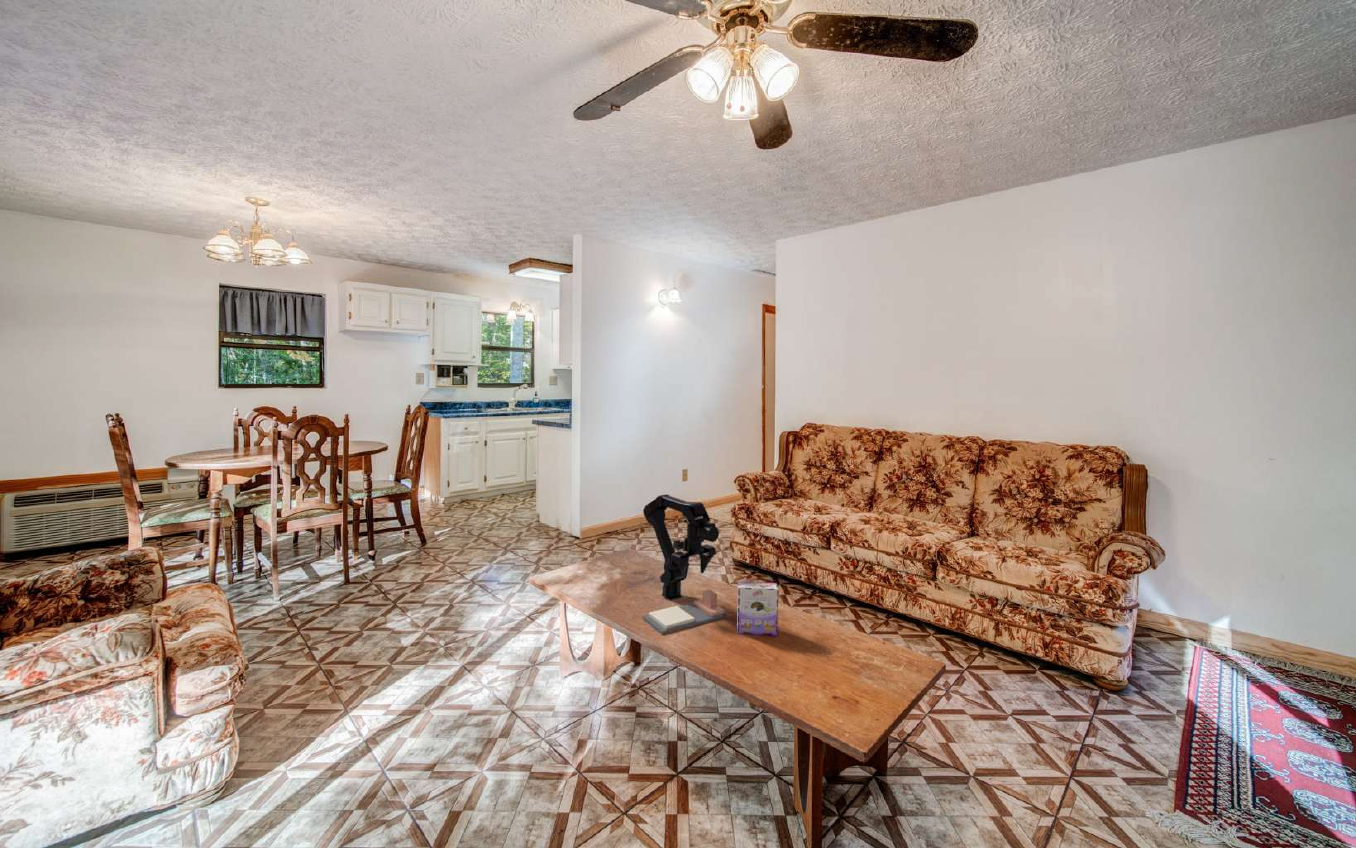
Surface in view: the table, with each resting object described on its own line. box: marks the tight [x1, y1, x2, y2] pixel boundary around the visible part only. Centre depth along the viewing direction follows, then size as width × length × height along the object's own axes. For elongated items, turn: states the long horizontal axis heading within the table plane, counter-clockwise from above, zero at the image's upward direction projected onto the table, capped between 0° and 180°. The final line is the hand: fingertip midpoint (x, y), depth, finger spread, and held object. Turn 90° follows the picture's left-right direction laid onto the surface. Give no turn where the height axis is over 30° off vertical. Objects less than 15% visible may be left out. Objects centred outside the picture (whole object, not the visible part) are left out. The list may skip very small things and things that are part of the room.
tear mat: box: [641, 602, 724, 635], centre depth 190 cm, size 26×14×1 cm, turn 122°
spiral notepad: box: [648, 605, 695, 629], centre depth 188 cm, size 13×12×1 cm
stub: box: [693, 588, 726, 616], centre depth 196 cm, size 6×12×6 cm, turn 32°
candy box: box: [736, 581, 779, 636], centre depth 181 cm, size 14×6×16 cm, turn 84°
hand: (693, 575), depth 200 cm, fingers open, 9 cm apart
